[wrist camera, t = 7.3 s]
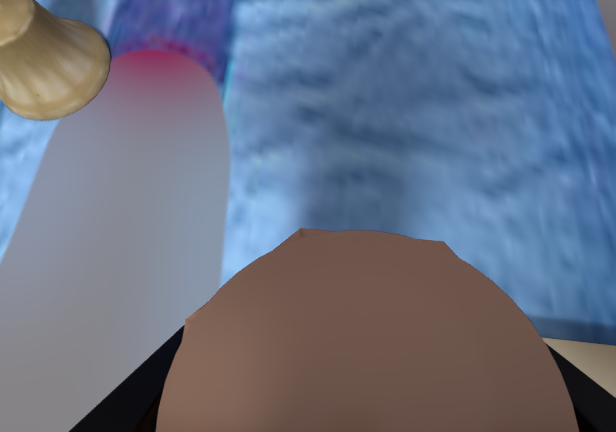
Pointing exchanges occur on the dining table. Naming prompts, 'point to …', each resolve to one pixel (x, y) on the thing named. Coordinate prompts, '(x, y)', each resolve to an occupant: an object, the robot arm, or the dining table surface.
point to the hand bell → (48, 61)
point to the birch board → (590, 360)
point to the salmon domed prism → (362, 346)
